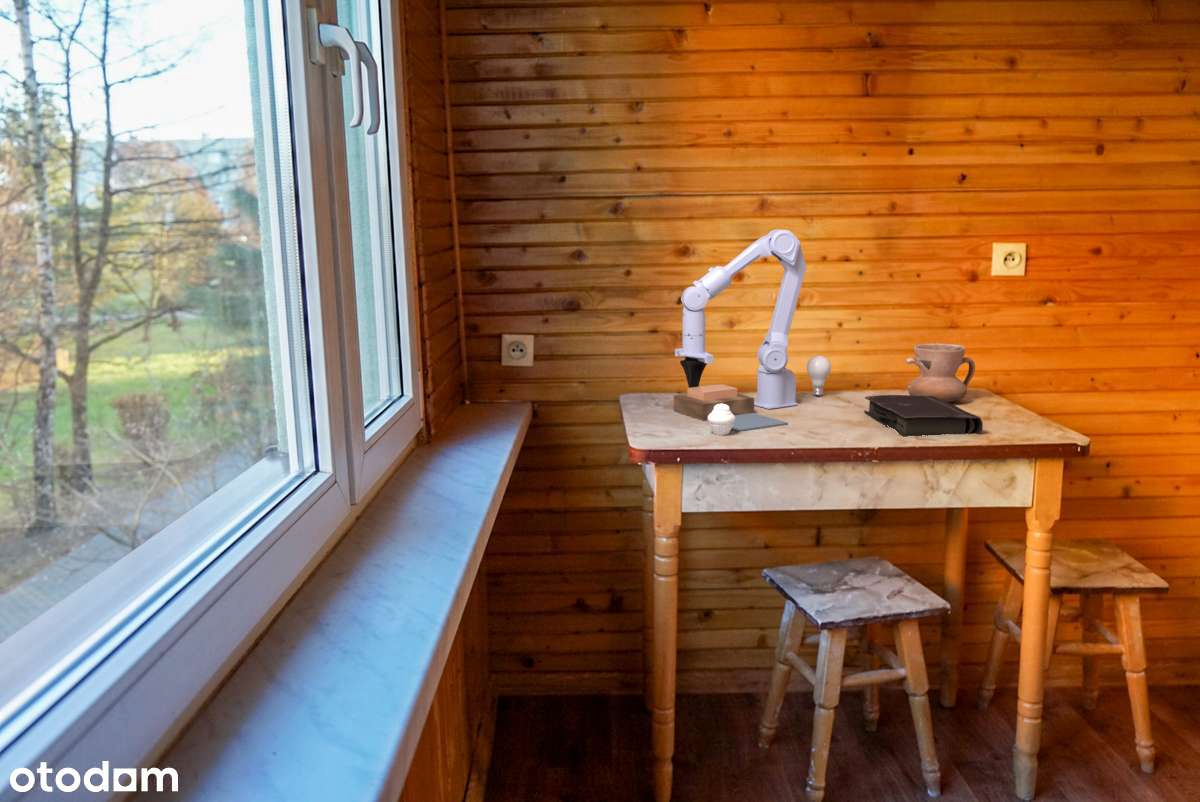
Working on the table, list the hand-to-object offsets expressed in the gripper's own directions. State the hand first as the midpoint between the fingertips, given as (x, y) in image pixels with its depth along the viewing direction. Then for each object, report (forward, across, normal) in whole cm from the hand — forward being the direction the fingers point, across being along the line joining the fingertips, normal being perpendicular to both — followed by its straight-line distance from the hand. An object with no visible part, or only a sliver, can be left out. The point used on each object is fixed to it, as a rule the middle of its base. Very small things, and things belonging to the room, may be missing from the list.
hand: (693, 387), depth 238 cm
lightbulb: (+5, +6, +36) cm, 36 cm away
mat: (+5, +22, 0) cm, 23 cm away
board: (+5, +9, 0) cm, 10 cm away
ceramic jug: (+5, +27, +58) cm, 64 cm away
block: (+1, +8, 0) cm, 8 cm away
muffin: (+5, +28, -12) cm, 31 cm away
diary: (+6, +43, +33) cm, 55 cm away
